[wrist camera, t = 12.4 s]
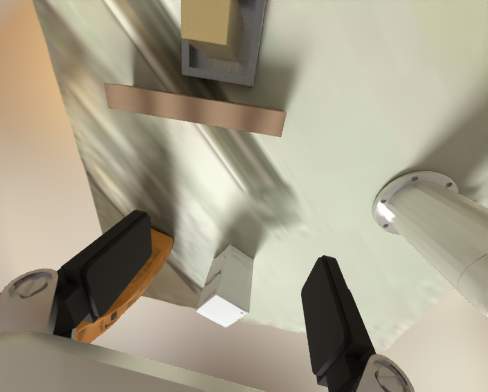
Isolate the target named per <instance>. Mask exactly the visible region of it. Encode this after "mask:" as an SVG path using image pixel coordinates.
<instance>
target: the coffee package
mask: <svg viewBox="0 0 488 392" xmlns="http://www.w3.org/2000/svg"><path fill="white" fill-rule="evenodd" d="M151 239H152V254H151V257H150V258H149V259H148V261H147V262H146V263H145V264H144V266H143V267H142V268H141V269H140V271H139V272H138V273H137V275H136V276H135V277H134V278H133V280H132V281H131V282H130V283H129V285H128V286H127V287H126V288H125V290H124V291H123V292H122V293H121V295H120V296H119V297H118V298H117V300H116V301H115V302H114V303H113V305H112V306H111V307H110V308H109V310H108V311H107V312H106V313H105V314H104V315H103V316H102V317H99V318H98V319H97V320H96V321H95V323H94V324H92V323H89V322H85V321H82V322H81V323H80V324H79V325H78V326H77V329H76V338H75V340H77V341H81V342H85V343H89V344H90V343H91V342H92V341H93V340H95V339H96V338H97V337H98V336H100V335H101V334H102V333H104V332H105V331H106V330H107V329H109V327H111V326H112V325H113V324H114V323H115V322H116V321H117V320H118V319H119V318H120V316H121V315H122V314H123V313H124V312H125V311H126V310H127V309H128V308H129V307H130V306H131V305H132V304H133V303H134V302H135V301H136V300H137V299H138V298H139V297H140V296H141V295H142V294H143V293H144V292H145V290H146V289H147V288H148V286H149V285H150V284H151V283H152V281H153V280H154V279H155V277H156V276H157V274H158V273H159V271H160V270H161V268H162V267H163V265H164V264H165V262H166V260H167V259H168V257H169V254H170V252H171V249H172V245H173V238H171V237H170V236H167V235H165V234H163V233H160V232H157V231H155V230H154V229H152V228H151Z"/></svg>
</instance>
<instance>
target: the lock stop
mask: <svg viewBox="0 0 488 392" xmlns="http://www.w3.org/2000/svg"><path fill="white" fill-rule="evenodd" d="M242 26H243V18H242V14H241V11H240V7H239V4H238V0H181V38H183V39H184V40H185V41H187V42H188V43H189V44H191V45H192V46H193V47H195V48H196V49H197V50H199V51H200V52H201V53H203V54H204V55H205V56H207V57H212V58H218V59H223V60H229V61H235V62H238V61H239V52H240V43H241V35H242Z"/></svg>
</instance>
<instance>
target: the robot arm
mask: <svg viewBox="0 0 488 392" xmlns="http://www.w3.org/2000/svg"><path fill="white" fill-rule="evenodd" d="M373 217H374V219H375V221H376V222H377V224H378V225H379V226H380V227H381V228H382V229H384V230H385V231H387V232H389V233H392V234H397V235H402V236H403V237H404V238H405V239H406V240H407V241H408V242H409V243H410V244H411V245H412V246H413V247H414V248H415V249H416V250H417V251H418V252H419V253H420V254H421V255H422V256H423V257H424V258H425V259H426V260H427V261H428V262H429V263H430V264H431V265H432V266H433V267H434V268H435V269H436V270H437V271H438V272H439V273H440V274H441V275H442V276H443V277H444V278H445V279H446V280H447V281H448V282H449V283H450V284H451V285H452V286H453V287H454V288H455V289H456V290H457V291H458V292H459V293H460V294H461V295H462V296H463V297H465V299H466V300H467V301H468V302H469V303H470V304H471V305H472V306H474V307H475V308H476V309H477V310H478V311H479V312H481V313H482V314H483V315H485V316H486V317H488V208H487V207H485V206H483V205H481V204H478V203H476V202H474V201H472V200H470V199H468V198H466V197H464V196H462V195H460V194H459V192H458V187H457V185H456V184H455V182H454V181H453V180H452V179H451V178H449V177H447V176H446V175H443V174H441V173H438V172H434V171H417V172H412V173H409V174H406V175H403V176H401V177H399V178H397V179H395V180H394V181H392V182H391V183H389V184H388V185H387V186H386V187H385V188H383V190H382V191H381V192H380V193H379V194H378V196H377V198H376V199H375V202H374V205H373ZM151 254H152V239H151V222H150V216H148V214H147V212H143V211H139V210H134V211H133V212H131V213H130V214H129V215H127V216H126V217H125V218H124V219H122V220H121V221H120V222H118V223H117V224H116V225H115V226H113V227H112V228H111V229H109V230H108V231H107V232H105V233H104V234H103V235H102V236H100V237H99V238H98V239H97V240H95V241H94V242H93V243H91V244H90V245H89V246H87V247H86V248H85V249H84V250H82V251H81V252H80V253H78V254H77V255H76V256H74V257H73V258H72V259H71V260H69V261H68V262H67V263H65V264H64V265H63V266H61V268H60V269H59V270H58V271H57V272H56V271H55V270H52V269H38V270H34V271H31V272H27V273H25V274H23V275H21V276H19V277H17V278H16V279H14V280H12V281H11V282H10V283H9V284H8V285H7V286H6V287H5V288H4V290H3V291H2V292H1V293H0V392H265V391H262V390H258V389H254V388H251V387H247V386H244V385H240V384H236V383H233V382H229V381H226V380H222V379H219V378H215V377H211V376H208V375H204V374H200V373H197V372H193V371H190V370H186V369H182V368H179V367H175V366H171V365H168V364H164V363H160V362H157V361H153V360H149V359H145V358H142V357H138V356H134V355H131V354H127V353H123V352H119V351H116V350H112V349H108V348H104V347H101V346H97V345H93V344H89V343H85V342H81V341H77V340H75V338H76V329H77V326H78V325H79V324H80V323H81V322H82V321H85V322H89V323H92V324H94V323H95V321H96V320H97V319H98V318H99V317H102V316H103V315H104V314H105V313H106V312H107V311H108V310H109V308H110V307H111V306H112V305H113V303H114V302H115V301H116V300H117V298H118V297H119V296H120V295H121V293H122V292H123V291H124V290H125V288H126V287H127V286H128V285H129V283H130V282H131V281H132V280H133V278H134V277H135V276H136V275H137V273H138V272H139V271H140V269H141V268H142V267H143V266H144V264H145V263H146V262H147V261H148V259H149V258H150V257H151ZM301 297H302V304H303V311H304V318H305V325H306V332H307V339H308V345H309V352H310V358H311V365H312V371H313V373H314V374H315V375H316V377H317V383H318V385H322V386H326V387H328V390H329V392H414V388H413V386H412V384H411V382H410V381H409V379H408V377H407V376H406V375H405V373H404V372H403V371H402V370H401V369H400V368H399V367H398V366H397V365H396V364H395V363H394V362H393V361H391V360H390V359H389V358H387V357H385V356H383V355H379V354H376V352H375V350H374V347H373V345H372V342H371V340H370V338H369V335H368V333H367V330H366V328H365V325H364V323H363V320H362V318H361V316H360V313H359V311H358V308H357V306H356V303H355V301H354V299H353V296H352V294H351V292H350V290H349V289H348V287H347V285H346V283H345V280H344V278H343V275H342V273H341V270H340V268H339V265H338V263H337V260H336V259H335V258H333V257H329V256H325V255H323V256H322V257H319V258H318V259H317V261H316V263H315V265H314V267H313V269H312V271H311V273H310V275H309V277H308V279H307V281H306V282H305V284H304V286H303V288H302V291H301Z"/></svg>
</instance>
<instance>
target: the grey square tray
mask: <svg viewBox="0 0 488 392" xmlns="http://www.w3.org/2000/svg"><path fill="white" fill-rule="evenodd" d="M238 4H239V7H240V11H241V14H242V18H243V26H242V35H241V43H240V52H239V61H238V62H235V61H229V60H223V59H218V58H212V57H207V56H205V55H204V54H203V53H201V52H200V51H199V50H197V49H196V48H195V47H193V46H192V45H191V44H189V43H188V42H187V41H185V40H184V39H183V38H181V41H182V75H185V76H188V77H194V78H201V79H207V80H213V81H219V82H226V83H232V84H238V85H244V86H250V87H254V82H255V75H256V68H257V61H258V54H259V47H260V40H261V34H262V27H263V20H264V13H265V6H266V0H238Z"/></svg>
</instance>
